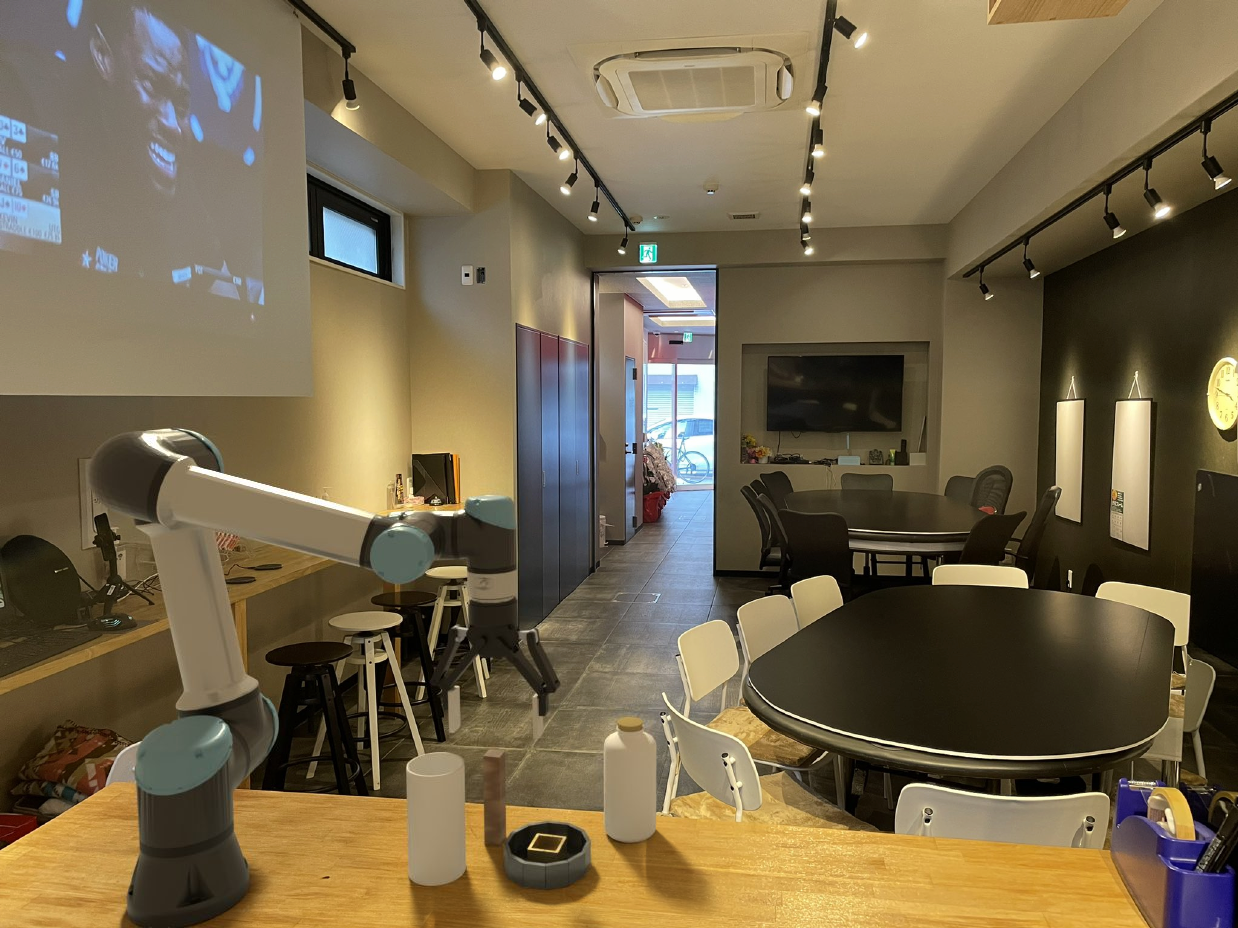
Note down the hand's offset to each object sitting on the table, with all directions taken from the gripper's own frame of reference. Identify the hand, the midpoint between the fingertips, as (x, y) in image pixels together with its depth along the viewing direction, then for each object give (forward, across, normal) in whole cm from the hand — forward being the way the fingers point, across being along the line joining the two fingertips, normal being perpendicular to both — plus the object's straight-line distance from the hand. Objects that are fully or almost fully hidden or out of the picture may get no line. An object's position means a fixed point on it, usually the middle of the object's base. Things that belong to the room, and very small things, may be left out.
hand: (496, 732), depth 131 cm
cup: (+17, -6, -10) cm, 21 cm away
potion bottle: (+18, +20, +7) cm, 27 cm away
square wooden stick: (+17, 0, 0) cm, 17 cm away
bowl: (+17, +10, -5) cm, 20 cm away
